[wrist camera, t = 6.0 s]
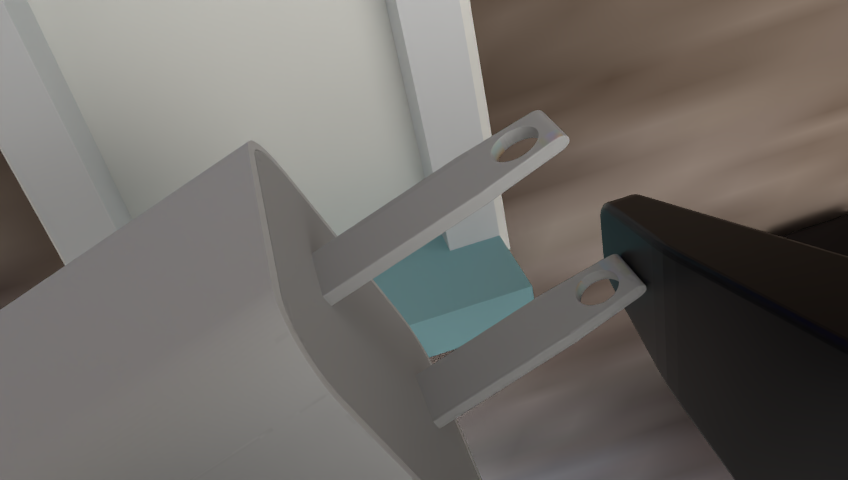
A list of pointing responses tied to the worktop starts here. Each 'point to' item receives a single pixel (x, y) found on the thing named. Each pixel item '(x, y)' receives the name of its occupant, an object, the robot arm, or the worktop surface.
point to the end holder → (259, 124)
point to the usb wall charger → (270, 335)
